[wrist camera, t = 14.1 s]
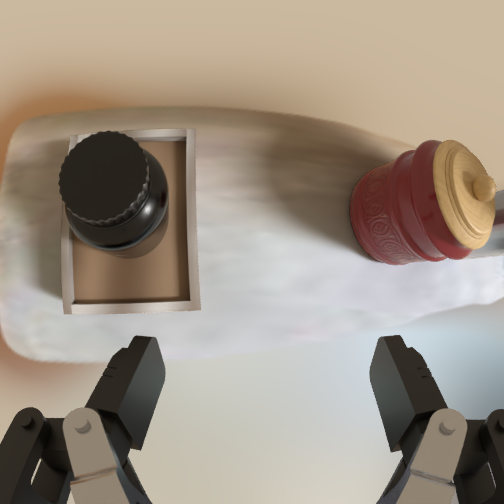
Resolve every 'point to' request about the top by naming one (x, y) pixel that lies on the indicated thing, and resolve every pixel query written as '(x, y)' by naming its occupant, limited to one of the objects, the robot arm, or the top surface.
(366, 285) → the top surface
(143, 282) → the open rectangular tray
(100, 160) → the supplement bottle
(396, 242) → the canister
